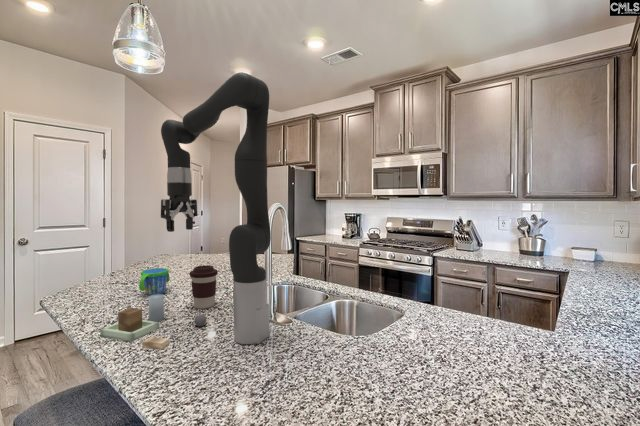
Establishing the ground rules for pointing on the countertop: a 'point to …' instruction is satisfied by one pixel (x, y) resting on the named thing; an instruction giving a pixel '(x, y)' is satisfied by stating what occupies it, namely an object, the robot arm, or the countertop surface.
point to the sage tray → (129, 336)
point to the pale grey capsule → (156, 307)
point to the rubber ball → (200, 320)
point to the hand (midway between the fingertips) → (180, 230)
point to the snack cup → (154, 281)
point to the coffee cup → (204, 286)
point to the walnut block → (130, 320)
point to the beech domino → (155, 343)
